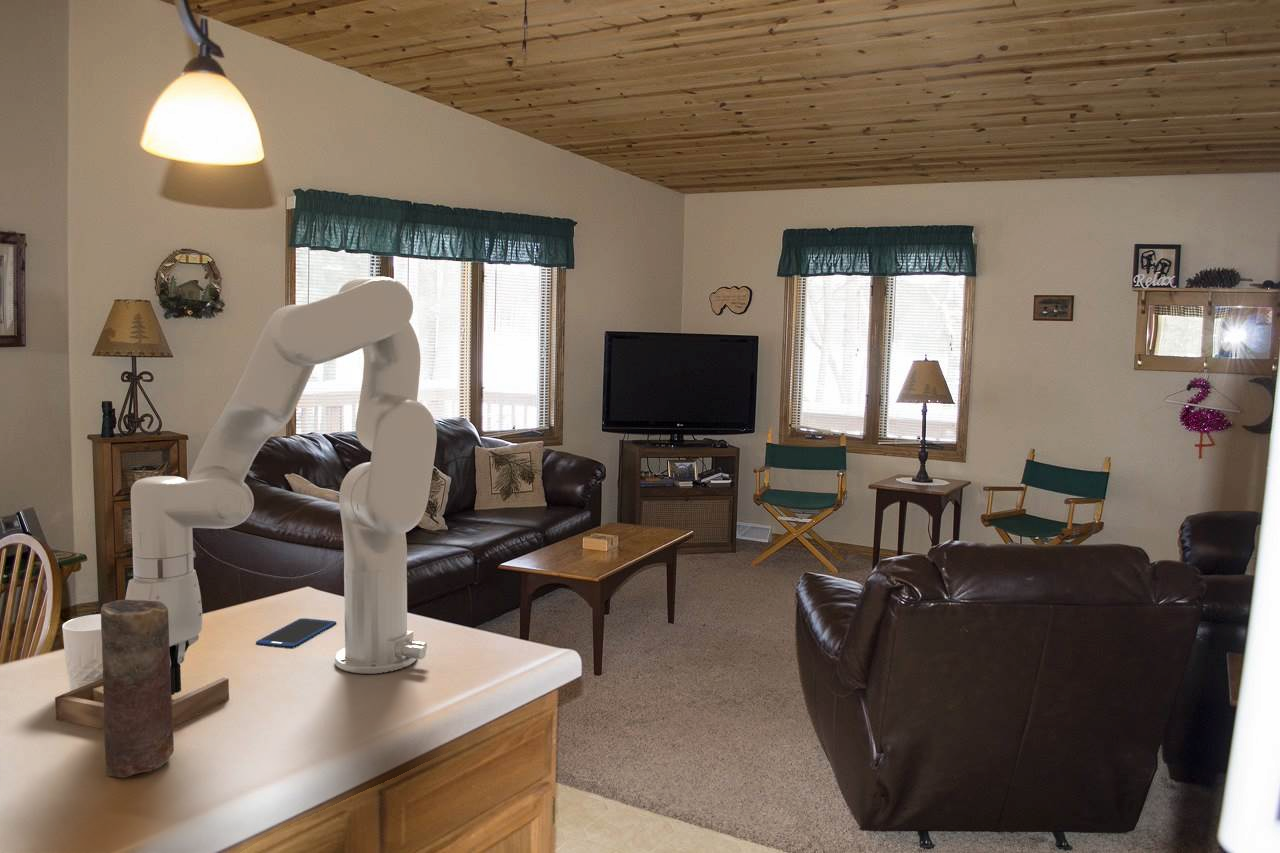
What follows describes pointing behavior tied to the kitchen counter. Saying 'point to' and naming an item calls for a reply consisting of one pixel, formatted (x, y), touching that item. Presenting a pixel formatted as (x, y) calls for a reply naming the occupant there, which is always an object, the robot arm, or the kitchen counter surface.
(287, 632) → the cell phone
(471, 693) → the kitchen counter surface
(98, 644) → the white cup
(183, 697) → the corral
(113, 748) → the candle
